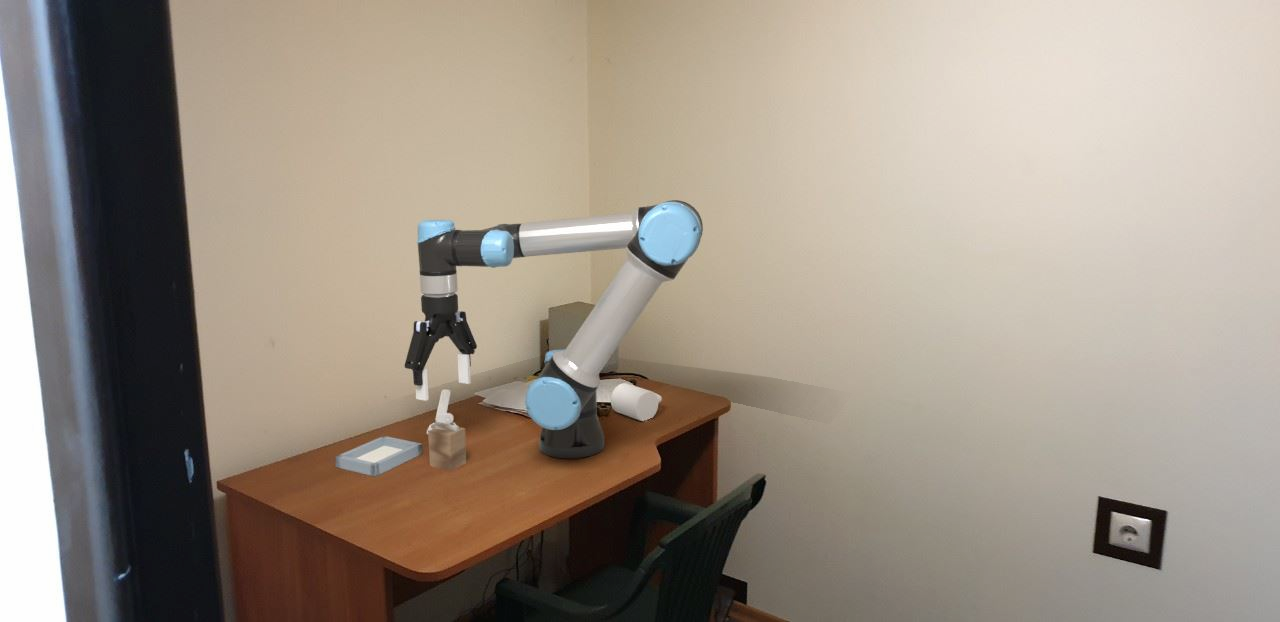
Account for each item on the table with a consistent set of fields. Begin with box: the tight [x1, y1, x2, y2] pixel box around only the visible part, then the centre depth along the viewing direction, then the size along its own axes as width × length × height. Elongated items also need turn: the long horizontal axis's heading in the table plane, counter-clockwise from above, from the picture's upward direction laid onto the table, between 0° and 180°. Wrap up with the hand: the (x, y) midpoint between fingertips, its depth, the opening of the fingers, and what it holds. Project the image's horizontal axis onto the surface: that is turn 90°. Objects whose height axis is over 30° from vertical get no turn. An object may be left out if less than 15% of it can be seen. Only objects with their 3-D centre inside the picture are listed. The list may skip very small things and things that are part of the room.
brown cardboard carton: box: [427, 421, 467, 471], centre depth 168 cm, size 6×5×9 cm
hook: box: [426, 389, 458, 435], centre depth 191 cm, size 8×12×7 cm
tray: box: [334, 435, 423, 477], centre depth 171 cm, size 11×14×2 cm
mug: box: [610, 382, 663, 422], centre depth 202 cm, size 12×10×8 cm
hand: (444, 391), depth 166 cm, fingers open, 13 cm apart
